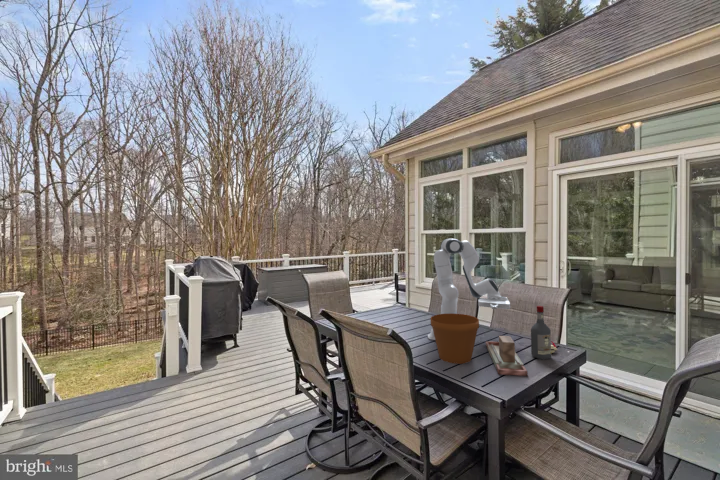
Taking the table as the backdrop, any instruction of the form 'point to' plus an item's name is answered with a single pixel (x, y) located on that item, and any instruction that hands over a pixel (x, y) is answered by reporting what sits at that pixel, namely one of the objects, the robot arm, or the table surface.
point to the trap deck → (505, 367)
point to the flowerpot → (455, 336)
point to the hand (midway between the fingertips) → (494, 308)
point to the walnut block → (507, 349)
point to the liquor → (540, 337)
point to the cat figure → (553, 348)
